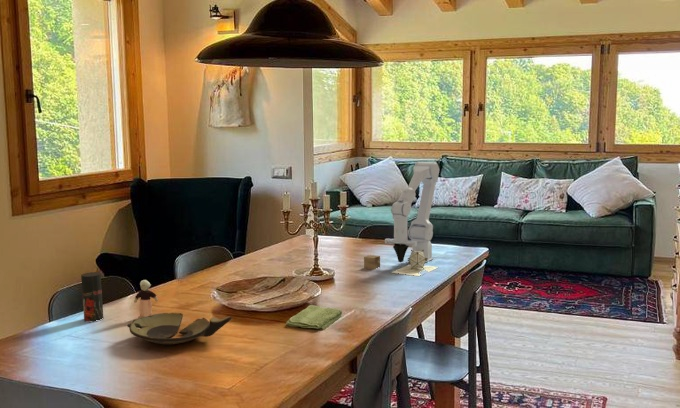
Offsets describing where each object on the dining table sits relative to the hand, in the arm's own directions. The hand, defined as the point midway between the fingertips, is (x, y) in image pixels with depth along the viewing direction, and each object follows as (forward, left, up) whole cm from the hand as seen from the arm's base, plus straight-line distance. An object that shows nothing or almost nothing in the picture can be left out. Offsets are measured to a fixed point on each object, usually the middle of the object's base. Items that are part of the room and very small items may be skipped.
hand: (400, 261), depth 284 cm
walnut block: (+7, -10, -2) cm, 13 cm away
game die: (0, +8, -2) cm, 8 cm away
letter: (+2, +8, -2) cm, 8 cm away
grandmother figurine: (+105, -38, -3) cm, 112 cm away
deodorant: (+115, -52, -3) cm, 126 cm away
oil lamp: (+116, -12, -3) cm, 117 cm away
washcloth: (+80, +12, -3) cm, 81 cm away
